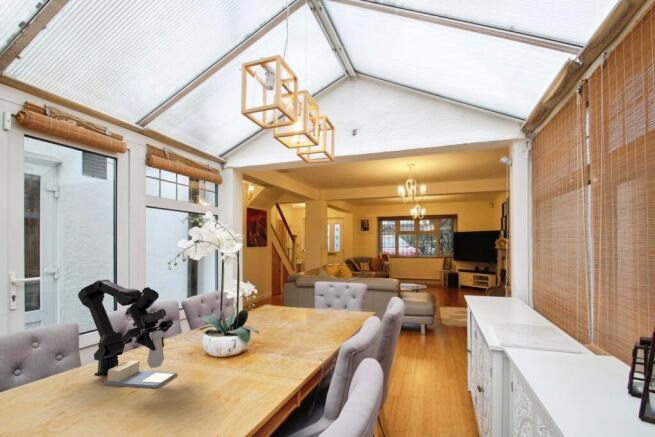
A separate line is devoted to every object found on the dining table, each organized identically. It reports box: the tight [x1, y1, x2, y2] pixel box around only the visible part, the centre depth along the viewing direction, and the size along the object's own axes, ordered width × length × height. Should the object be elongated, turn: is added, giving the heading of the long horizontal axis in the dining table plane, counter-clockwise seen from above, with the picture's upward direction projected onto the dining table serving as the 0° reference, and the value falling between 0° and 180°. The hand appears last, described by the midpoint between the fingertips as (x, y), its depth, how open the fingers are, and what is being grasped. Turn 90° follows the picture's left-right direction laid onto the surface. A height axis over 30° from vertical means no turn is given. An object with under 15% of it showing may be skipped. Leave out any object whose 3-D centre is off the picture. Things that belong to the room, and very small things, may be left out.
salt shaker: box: [146, 330, 165, 369], centre depth 119 cm, size 6×6×13 cm
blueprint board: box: [103, 359, 178, 389], centre depth 122 cm, size 22×12×5 cm, turn 82°
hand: (159, 348), depth 119 cm, fingers closed on salt shaker, 3 cm apart
